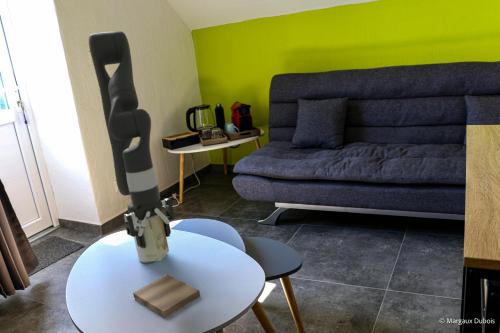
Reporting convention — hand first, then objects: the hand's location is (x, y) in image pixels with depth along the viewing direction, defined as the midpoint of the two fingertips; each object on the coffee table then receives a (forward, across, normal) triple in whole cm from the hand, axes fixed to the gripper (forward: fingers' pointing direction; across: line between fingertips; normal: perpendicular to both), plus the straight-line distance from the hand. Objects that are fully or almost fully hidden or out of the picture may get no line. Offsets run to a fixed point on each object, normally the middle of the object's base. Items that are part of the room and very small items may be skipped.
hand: (155, 241), depth 119 cm
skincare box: (+5, 0, 0) cm, 5 cm away
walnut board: (+18, 0, 0) cm, 18 cm away
